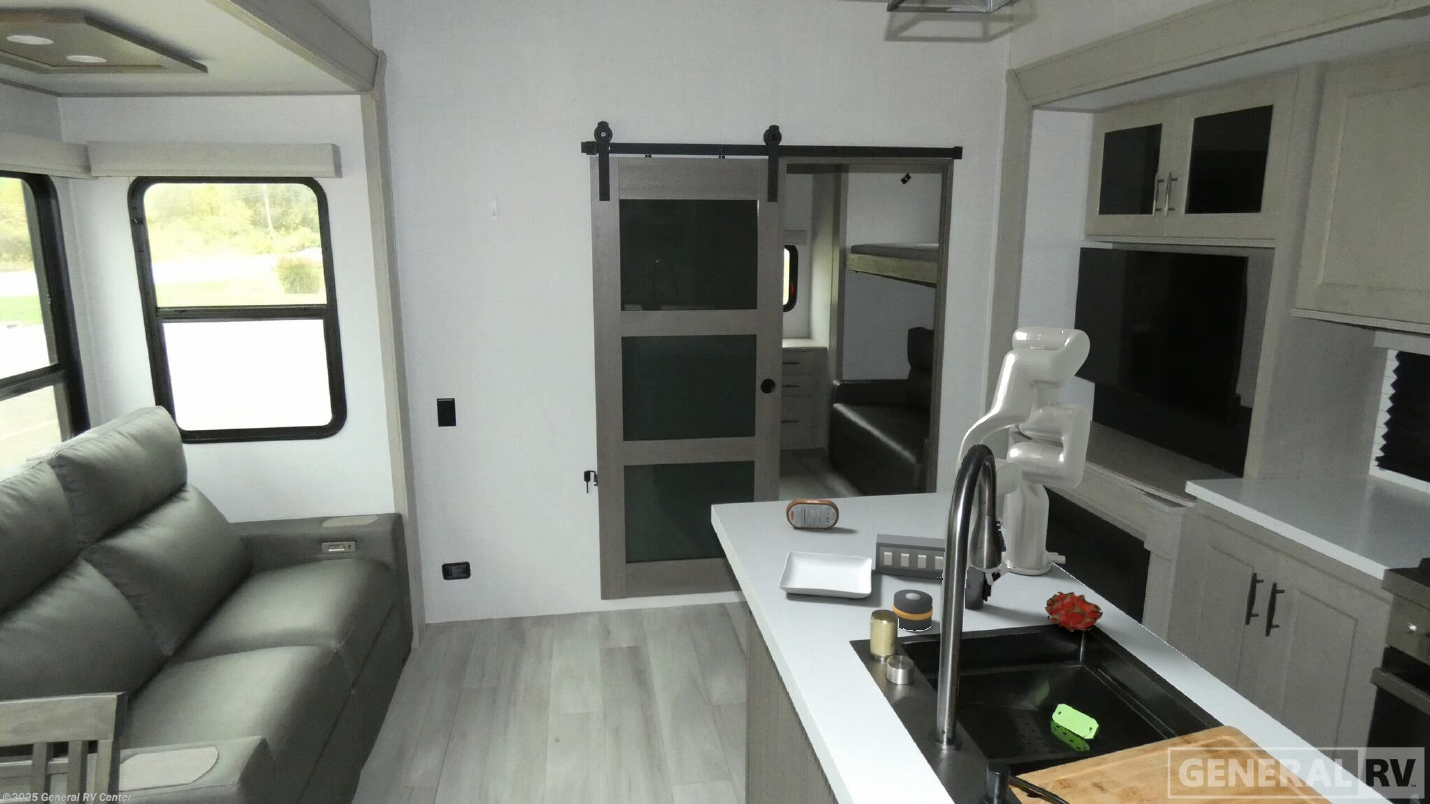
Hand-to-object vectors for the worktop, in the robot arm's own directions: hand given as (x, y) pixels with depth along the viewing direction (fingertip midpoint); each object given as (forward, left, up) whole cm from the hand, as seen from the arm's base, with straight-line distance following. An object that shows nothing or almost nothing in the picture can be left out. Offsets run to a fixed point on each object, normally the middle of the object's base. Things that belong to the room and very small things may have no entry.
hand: (972, 596), depth 180 cm
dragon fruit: (-20, +6, -2) cm, 21 cm away
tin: (+41, -41, -2) cm, 58 cm away
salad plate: (+33, -5, -3) cm, 33 cm away
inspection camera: (0, 0, -2) cm, 2 cm away
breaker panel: (+13, -16, -2) cm, 21 cm away
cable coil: (+13, +12, -2) cm, 18 cm away
